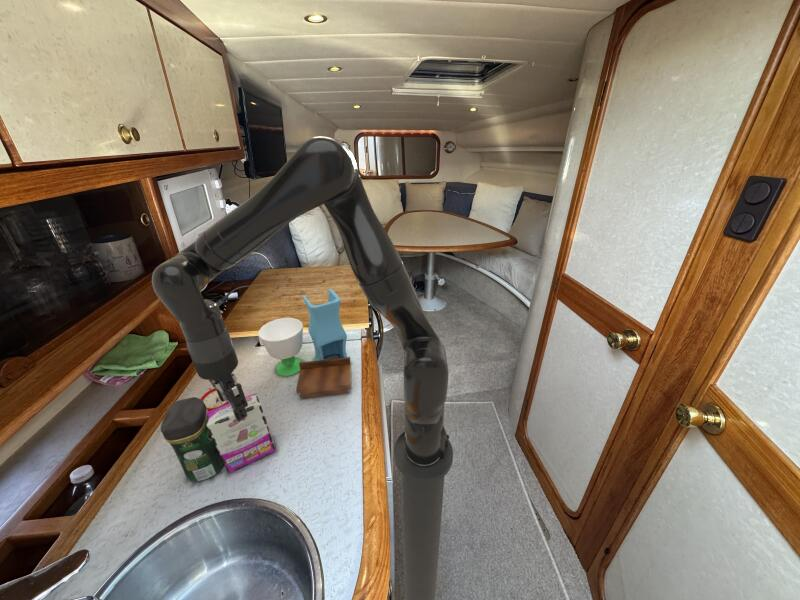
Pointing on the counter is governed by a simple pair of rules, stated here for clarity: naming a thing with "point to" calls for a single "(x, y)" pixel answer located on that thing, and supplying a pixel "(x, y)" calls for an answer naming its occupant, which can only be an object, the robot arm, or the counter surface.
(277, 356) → the cup
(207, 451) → the coffee jar
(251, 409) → the candy bar box
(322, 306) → the blue forked stand
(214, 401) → the alarm clock
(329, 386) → the wooden serving tray
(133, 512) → the counter surface
